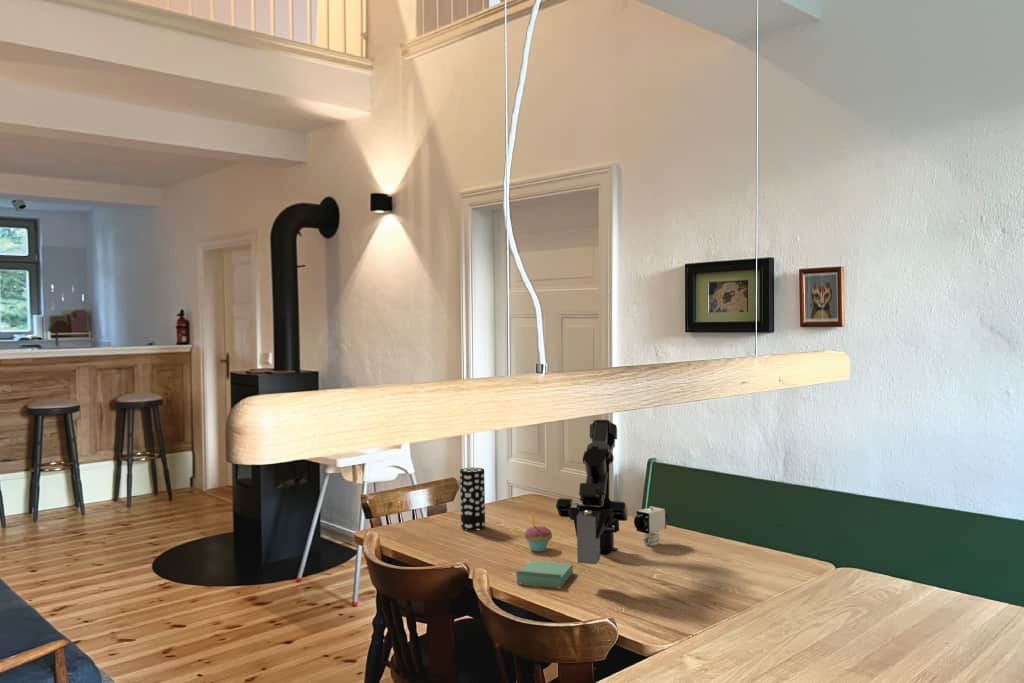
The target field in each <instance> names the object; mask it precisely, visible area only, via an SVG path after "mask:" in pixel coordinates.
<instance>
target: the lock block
mask: <svg viewBox="0 0 1024 683" xmlns="http://www.w3.org/2000/svg"><path fill="white" fill-rule="evenodd" d="M599 521H600V515H599V512H592V511H591V510H585V511H581V512H580V513H579V514H578V515H577V536H576V548H577V549H576V550H577V551H576V552H577V555H576V556H577V558H576V559H577V564H587V565H597V564H598V562H600V560H601V553H600V537H599V539H597V529H598V525H599Z"/></svg>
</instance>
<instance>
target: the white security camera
mask: <svg viewBox="0 0 1024 683" xmlns="http://www.w3.org/2000/svg"><path fill="white" fill-rule="evenodd" d="M635 513H636V514H635V517H634V519H633V524H634V528H636V532H639V533H643V537H644V538H643V545H645V544H646V545H647V546H650V547H655V546H659V545H660V542H659V541H660V540H661V537H660V534H659V533H658V532H659V531H663V530H666V529H667V524H668V522H669V520H670V517H669V514H668V512H667V509H666V508H663V507H658V506H652V505H651V506H649V507H648V508H644V509H643V508H642V509H639V510H636V512H635ZM658 544H659V545H658ZM646 545H645V546H646Z"/></svg>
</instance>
